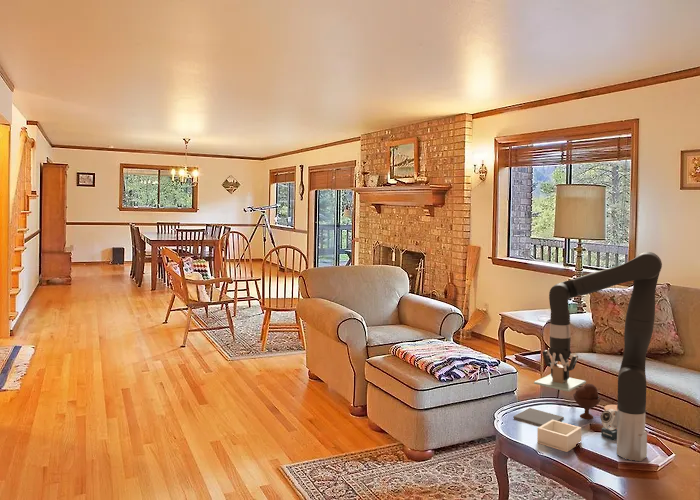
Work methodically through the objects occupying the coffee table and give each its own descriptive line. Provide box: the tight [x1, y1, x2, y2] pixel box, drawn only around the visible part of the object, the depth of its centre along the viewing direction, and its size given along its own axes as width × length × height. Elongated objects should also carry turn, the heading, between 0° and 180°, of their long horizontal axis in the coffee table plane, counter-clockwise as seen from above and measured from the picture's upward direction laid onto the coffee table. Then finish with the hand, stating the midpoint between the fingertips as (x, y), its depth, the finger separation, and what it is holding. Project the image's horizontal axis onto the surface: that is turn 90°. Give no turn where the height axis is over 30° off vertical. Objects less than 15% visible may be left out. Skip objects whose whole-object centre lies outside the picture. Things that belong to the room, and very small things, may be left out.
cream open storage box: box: [536, 420, 582, 453], centre depth 224 cm, size 12×12×6 cm
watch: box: [600, 409, 617, 441], centre depth 228 cm, size 6×8×11 cm
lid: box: [533, 363, 587, 392], centre depth 222 cm, size 14×14×8 cm
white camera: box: [603, 404, 618, 426], centre depth 238 cm, size 11×11×9 cm
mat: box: [513, 407, 565, 427], centre depth 249 cm, size 16×14×1 cm
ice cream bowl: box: [573, 383, 602, 421], centre depth 249 cm, size 11×11×15 cm
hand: (559, 378), depth 222 cm, fingers closed on lid, 4 cm apart
